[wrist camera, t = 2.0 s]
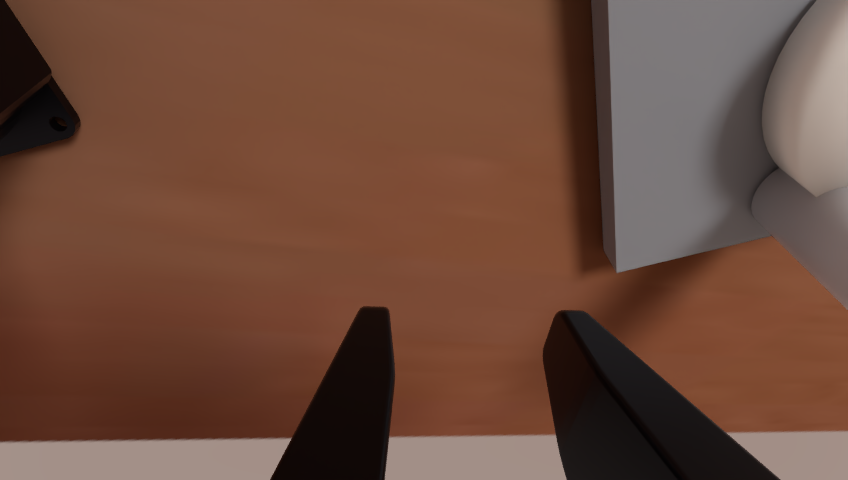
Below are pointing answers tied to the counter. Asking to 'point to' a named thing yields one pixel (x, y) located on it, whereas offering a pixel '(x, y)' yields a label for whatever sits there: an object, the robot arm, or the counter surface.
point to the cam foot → (810, 147)
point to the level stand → (683, 121)
